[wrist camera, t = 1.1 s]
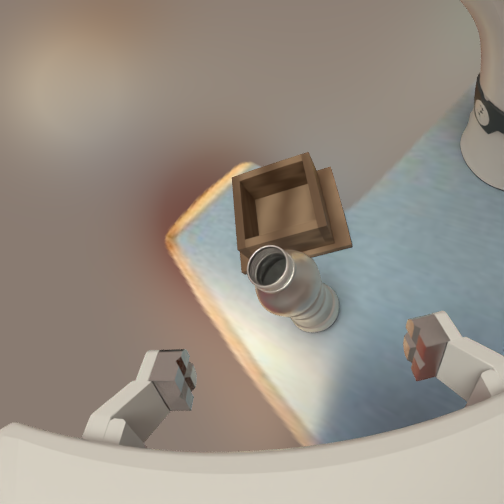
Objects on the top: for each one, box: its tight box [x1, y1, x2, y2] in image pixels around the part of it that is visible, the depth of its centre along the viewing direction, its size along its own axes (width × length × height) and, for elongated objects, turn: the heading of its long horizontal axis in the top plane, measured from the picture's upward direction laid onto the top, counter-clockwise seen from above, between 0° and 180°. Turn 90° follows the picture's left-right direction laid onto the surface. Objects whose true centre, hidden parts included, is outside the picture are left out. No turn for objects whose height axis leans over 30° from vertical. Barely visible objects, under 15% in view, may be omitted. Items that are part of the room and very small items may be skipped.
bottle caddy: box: [232, 152, 352, 274], centre depth 47 cm, size 17×14×7 cm
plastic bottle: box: [247, 245, 339, 333], centre depth 34 cm, size 6×7×20 cm
